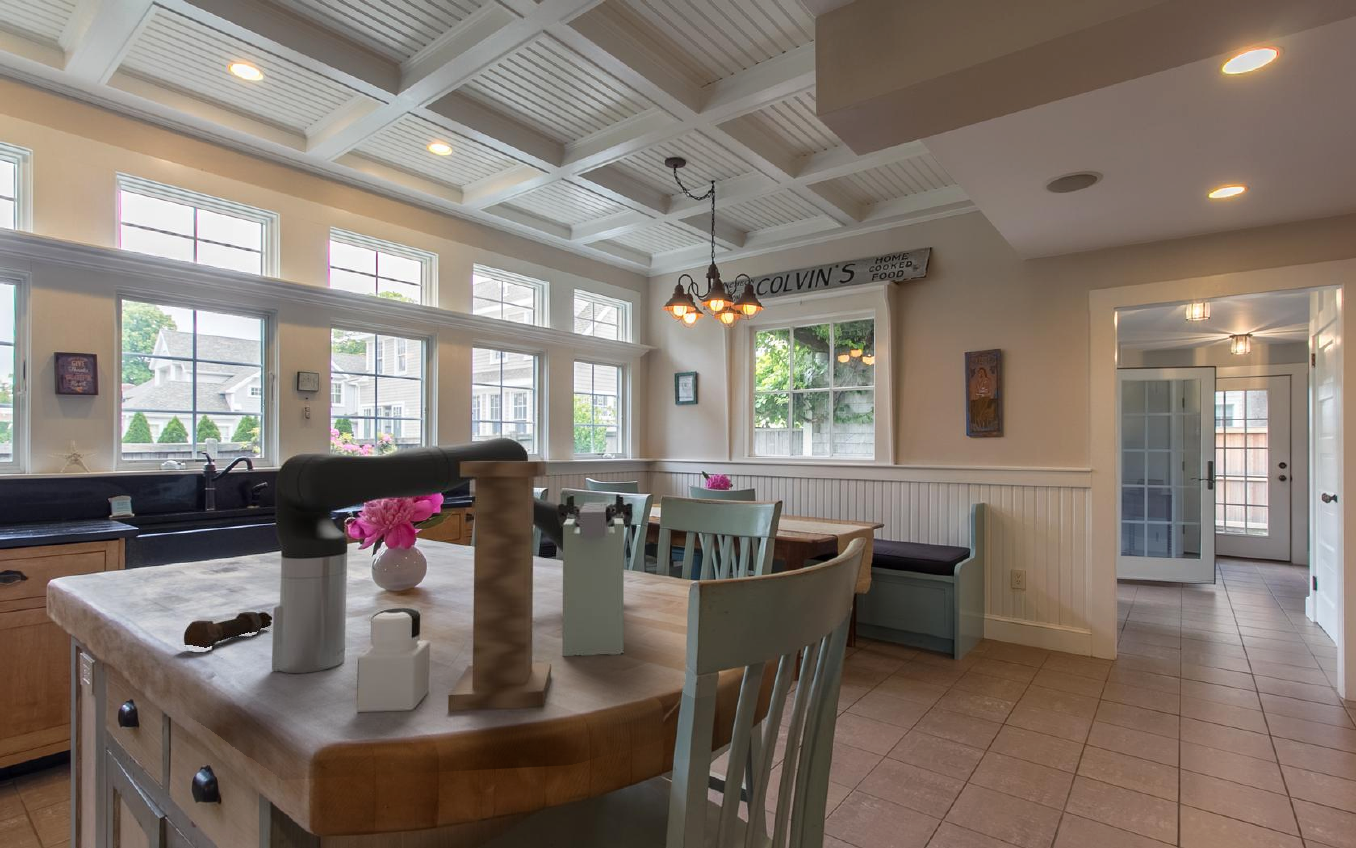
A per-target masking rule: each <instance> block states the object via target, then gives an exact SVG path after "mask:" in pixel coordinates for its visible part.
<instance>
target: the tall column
mask: <svg viewBox="0 0 1356 848" xmlns="http://www.w3.org/2000/svg"><path fill="white" fill-rule="evenodd" d="M545 475H547V461H544V460H539V461H538V460H535V461H534V460H532V461H530V460H528V461H467V462H460V477H475V479H474V481H475V483H474V488H475V491H474V544H473V545H474V548H473V549H474V551H473V552H474V553H473V555H474V556H473V560H474V561H473V565H474V567H473V568H474V569H473V615H472V617H473V618H472V619H473V627H472V631H473V632H472V665H467V667H466V668H465V670H464V671H463V673H462V674H461V676H460V677H459V679H458V680H457V681H456V683H455V684H454V686H453V687H452V689H451V691H450V692H449V694H448V699H447V701H448V702H447V703H448V707H447V711H449V712H452V711H476V710H477V711H479V710H497V709H498V710H499V709H500V710H501V709H502V710H504V709H524V708H525V709H526V708H543V707H544V704H545V700H546V697H547V693H548V689H549V685H550V682H551V677H552V662H535V663H533V619H534V618H533V614H534V611H533V607H534V606H533V604H534V603H533V602H534V600H533V598H534V593H533V591H534V590H533V589H534V525H533V519H534V497H535V496H534V495H535V492H534V491H535V487H534V486H535V477H541V476H545Z"/></svg>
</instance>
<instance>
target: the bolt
mask: <svg viewBox="0 0 1356 848" xmlns="http://www.w3.org/2000/svg"><path fill="white" fill-rule="evenodd" d="M271 625H273V615H270V614H269V613H267V612H265V611H262V612H256V611H242V612H239V613H238V615H236V617H235V618H232V619H228V620H224V621H220V622H216V623H214V622H213V620H195V621H191V623H190V624H188V626H187V627H186V629H185V631H184V634H183V643H184V646H185V645H193V646H199V647H204V648H207V647H210V646H213V645H214V646H215V644H216V643H219V642H222V640H223V641H224V640H228V638H230V637H233V638H236V636H237V637H238V636H239V635H241V634H245V633H248V632H249V633H252V632H257V631H259V632H260V631H261V630H260V629H261V628H265V627H268V626H270V627H271ZM268 628H269V627H268ZM230 639H231V638H230ZM218 641H219V642H218ZM214 646H213V647H214Z"/></svg>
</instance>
